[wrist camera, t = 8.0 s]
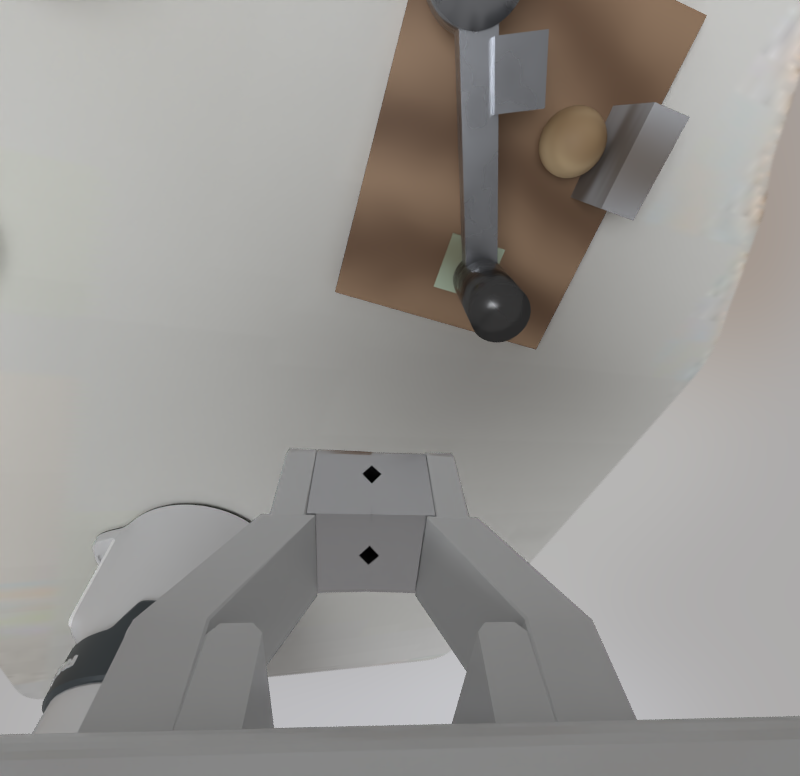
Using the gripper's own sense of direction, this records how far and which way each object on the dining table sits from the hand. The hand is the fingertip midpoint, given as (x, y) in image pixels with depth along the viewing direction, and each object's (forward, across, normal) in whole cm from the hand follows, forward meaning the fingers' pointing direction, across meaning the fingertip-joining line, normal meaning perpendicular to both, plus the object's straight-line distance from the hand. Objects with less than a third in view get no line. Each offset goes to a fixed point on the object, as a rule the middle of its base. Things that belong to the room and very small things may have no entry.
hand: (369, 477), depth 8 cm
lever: (+21, -6, -6) cm, 22 cm away
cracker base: (+24, -7, -4) cm, 25 cm away
